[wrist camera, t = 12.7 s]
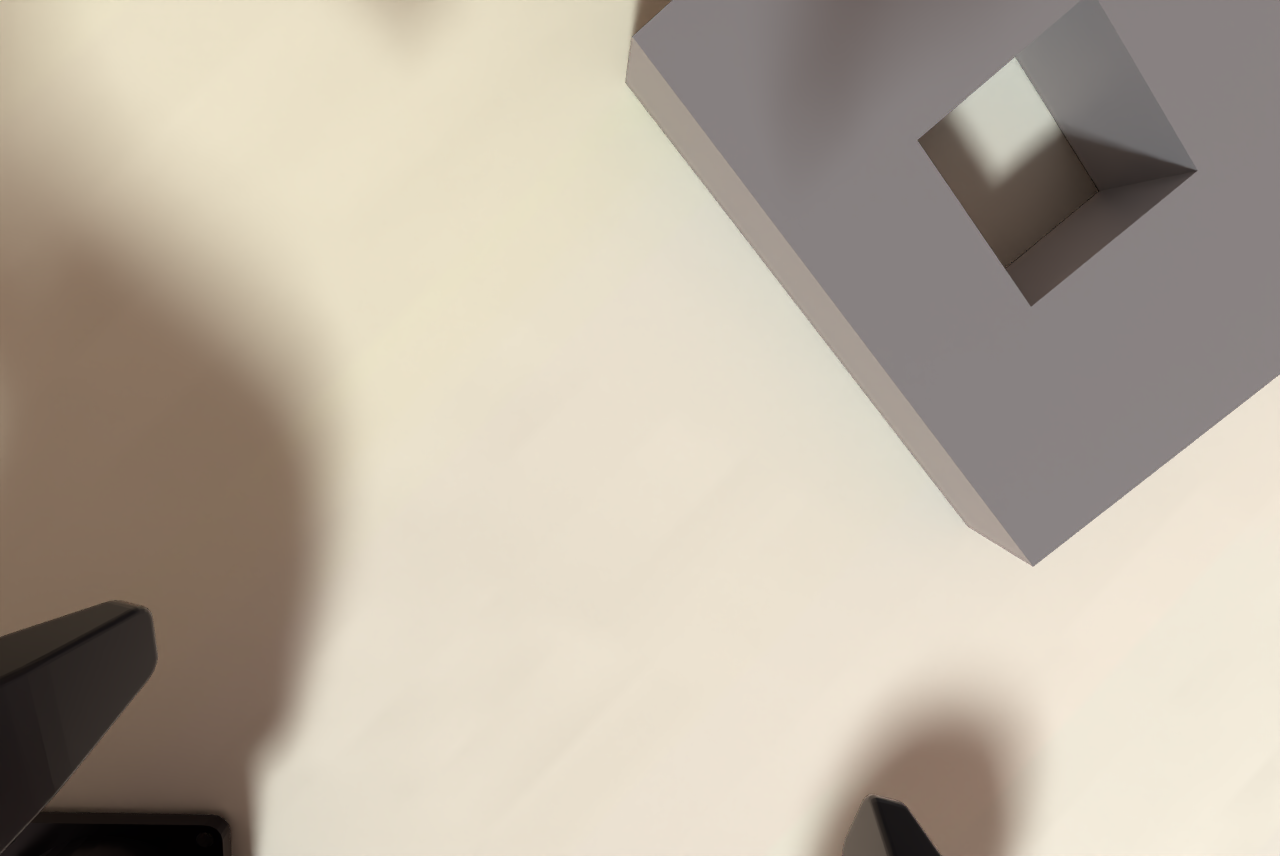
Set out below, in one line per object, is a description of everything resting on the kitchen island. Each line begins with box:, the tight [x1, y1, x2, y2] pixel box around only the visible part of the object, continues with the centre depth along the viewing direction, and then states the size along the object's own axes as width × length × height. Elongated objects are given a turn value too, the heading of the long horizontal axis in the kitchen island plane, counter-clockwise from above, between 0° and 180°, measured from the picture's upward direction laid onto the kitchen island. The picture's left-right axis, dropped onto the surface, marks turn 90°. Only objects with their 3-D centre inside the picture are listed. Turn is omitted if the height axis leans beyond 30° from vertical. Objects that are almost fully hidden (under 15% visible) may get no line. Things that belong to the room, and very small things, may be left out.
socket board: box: [625, 0, 1280, 566], centre depth 16 cm, size 12×16×3 cm
